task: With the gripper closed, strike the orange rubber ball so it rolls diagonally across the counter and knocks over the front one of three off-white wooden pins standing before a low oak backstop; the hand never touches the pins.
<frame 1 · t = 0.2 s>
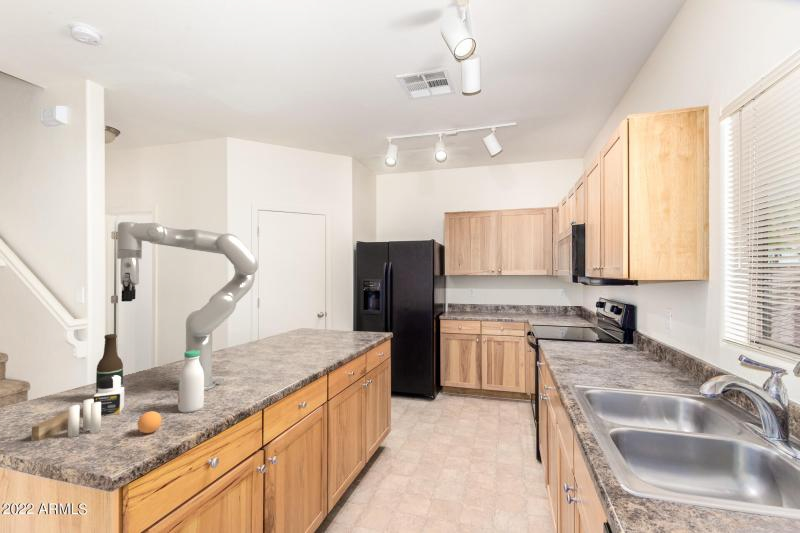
hand: (128, 300, 139), 37 cm above the worktop, tool pointing down, fingers open, 9 cm apart
pin 1: (73, 435, 107), on the worktop
medicine bottle: (109, 412, 125), on the worktop
beer bottle: (109, 399, 136), on the worktop
pin 2: (88, 428, 112), on the worktop
pin front: (95, 431, 109), on the worktop
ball: (149, 422, 110), on the worktop
milk bottle: (191, 409, 128), on the worktop
backstop: (54, 431, 109), on the worktop
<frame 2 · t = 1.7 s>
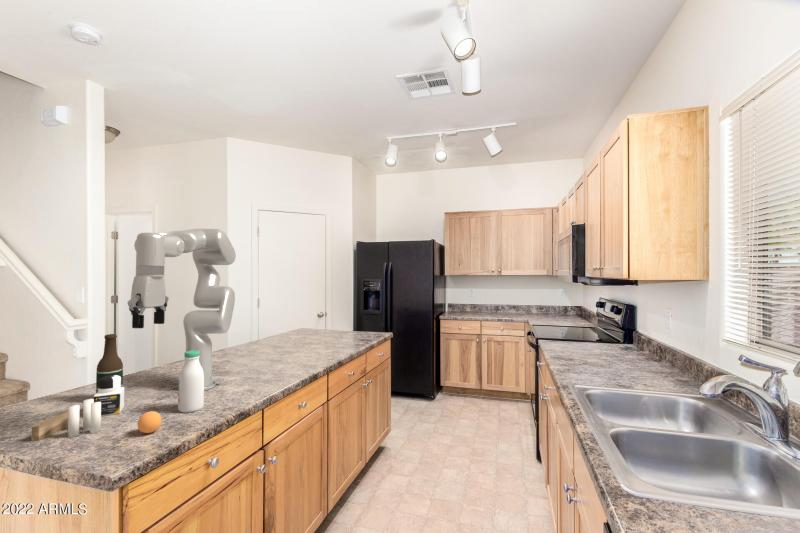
hand: (148, 325, 117), 31 cm above the worktop, tool pointing down, fingers open, 9 cm apart
nothing on the worktop moved.
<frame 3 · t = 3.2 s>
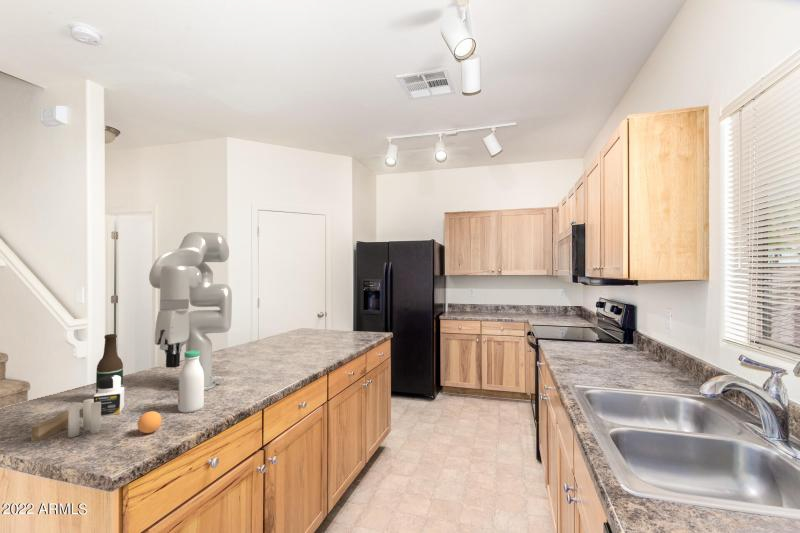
hand: (172, 366, 111), 19 cm above the worktop, tool pointing down, fingers closed
nothing on the worktop moved.
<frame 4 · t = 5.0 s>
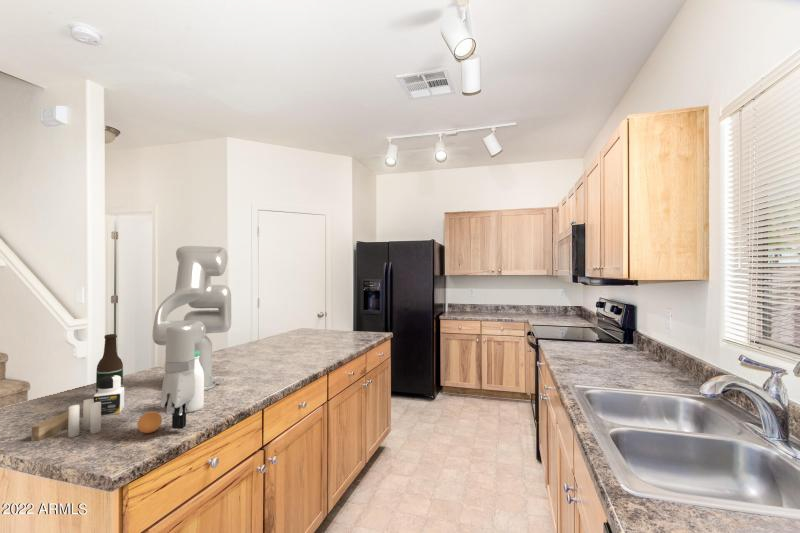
hand: (179, 427, 110), 2 cm above the worktop, tool pointing down, fingers closed
nothing on the worktop moved.
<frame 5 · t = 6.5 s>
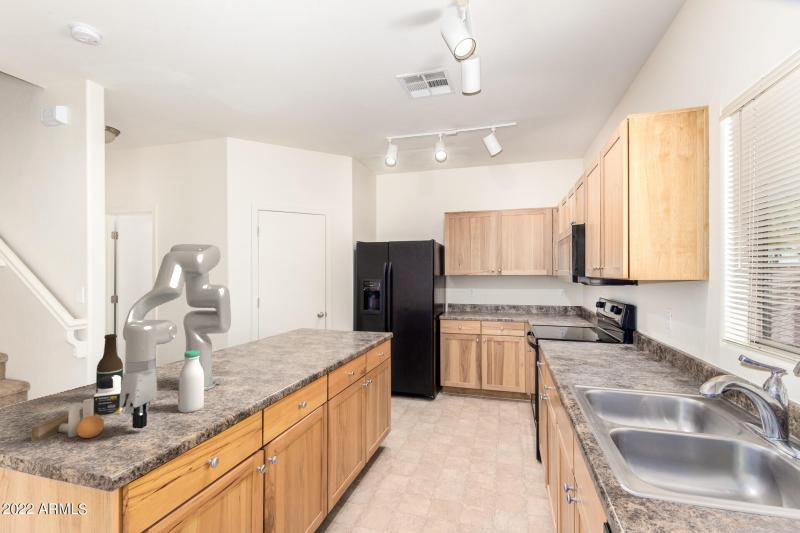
hand: (139, 427, 110), 2 cm above the worktop, tool pointing down, fingers closed
pin front: (90, 428, 110), point 1 cm above the worktop, tilted 90°
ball: (90, 426, 106), on the worktop
everything else where it was.
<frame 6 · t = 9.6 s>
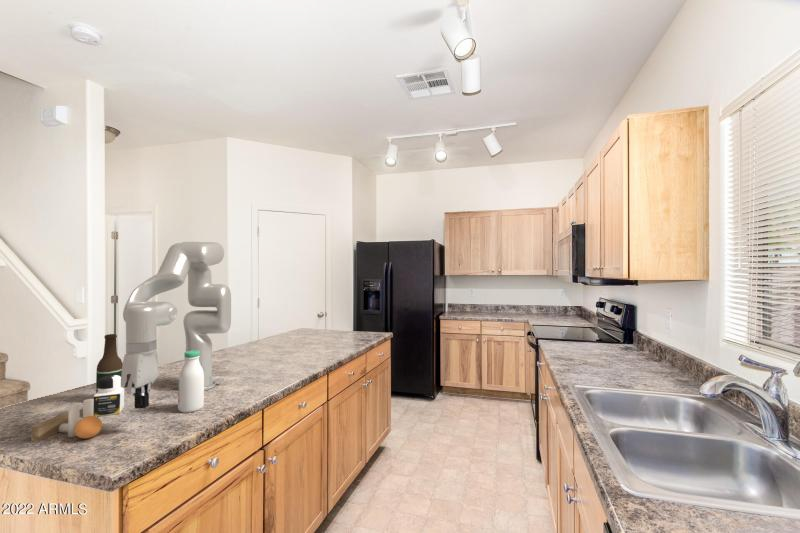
hand: (141, 407, 111), 7 cm above the worktop, tool pointing down, fingers closed
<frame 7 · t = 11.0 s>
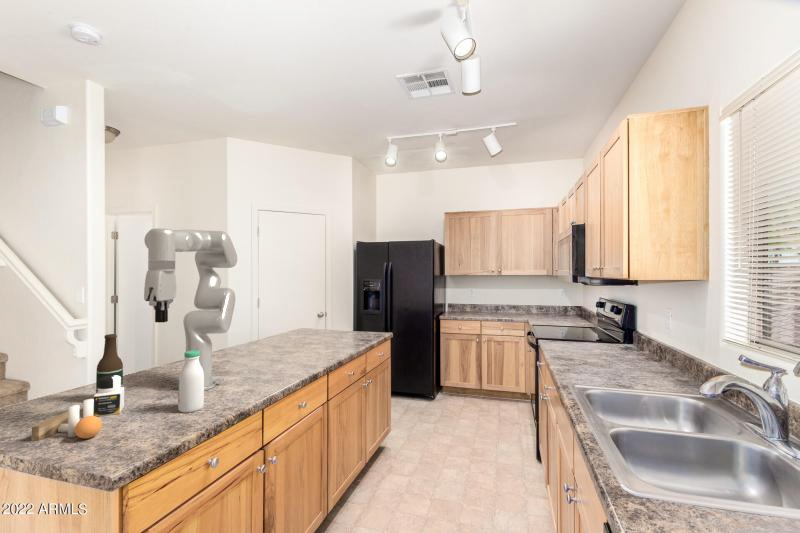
hand: (161, 321, 121), 31 cm above the worktop, tool pointing down, fingers closed
nothing on the worktop moved.
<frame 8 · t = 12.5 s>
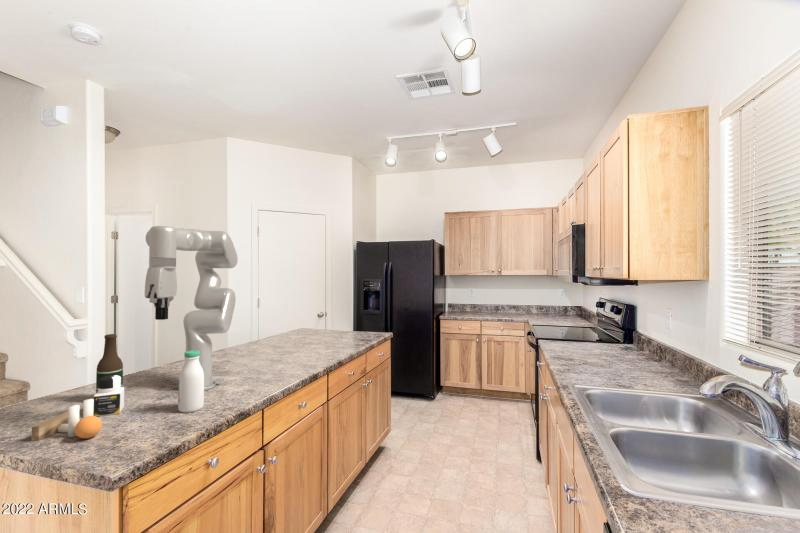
hand: (161, 319, 121), 32 cm above the worktop, tool pointing down, fingers closed
nothing on the worktop moved.
at the end: pin front tilted 90°; pin front never touched the robot; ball moved 15.4 cm from its start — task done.
